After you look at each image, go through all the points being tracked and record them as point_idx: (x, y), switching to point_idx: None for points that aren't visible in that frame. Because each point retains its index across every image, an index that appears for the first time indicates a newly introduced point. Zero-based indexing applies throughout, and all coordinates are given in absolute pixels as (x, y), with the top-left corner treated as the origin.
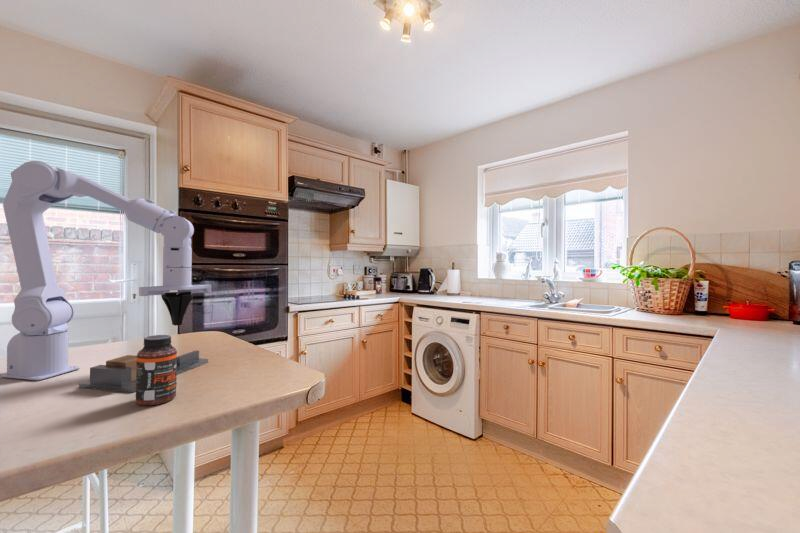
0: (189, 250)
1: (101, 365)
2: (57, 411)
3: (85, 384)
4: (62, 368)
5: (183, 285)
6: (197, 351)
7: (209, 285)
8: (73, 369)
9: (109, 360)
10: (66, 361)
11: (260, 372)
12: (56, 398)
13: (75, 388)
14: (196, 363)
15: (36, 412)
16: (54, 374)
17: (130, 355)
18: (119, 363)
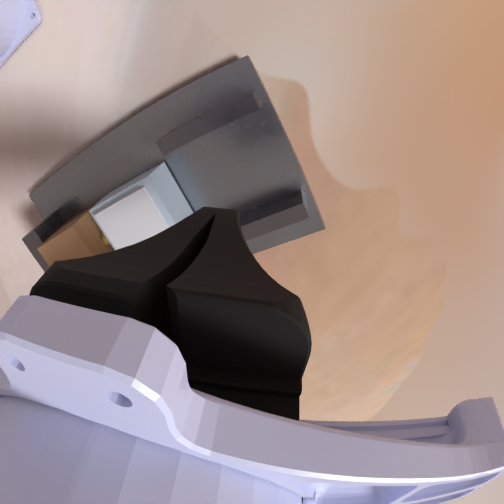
0: None
1: (36, 238)
2: (32, 286)
3: (38, 209)
4: (7, 44)
5: None
6: (301, 219)
7: (449, 496)
8: (29, 33)
9: (42, 249)
10: (3, 32)
11: (332, 372)
12: (17, 227)
13: (31, 190)
14: (271, 246)
15: (13, 268)
16: (2, 63)
17: (78, 238)
18: None
